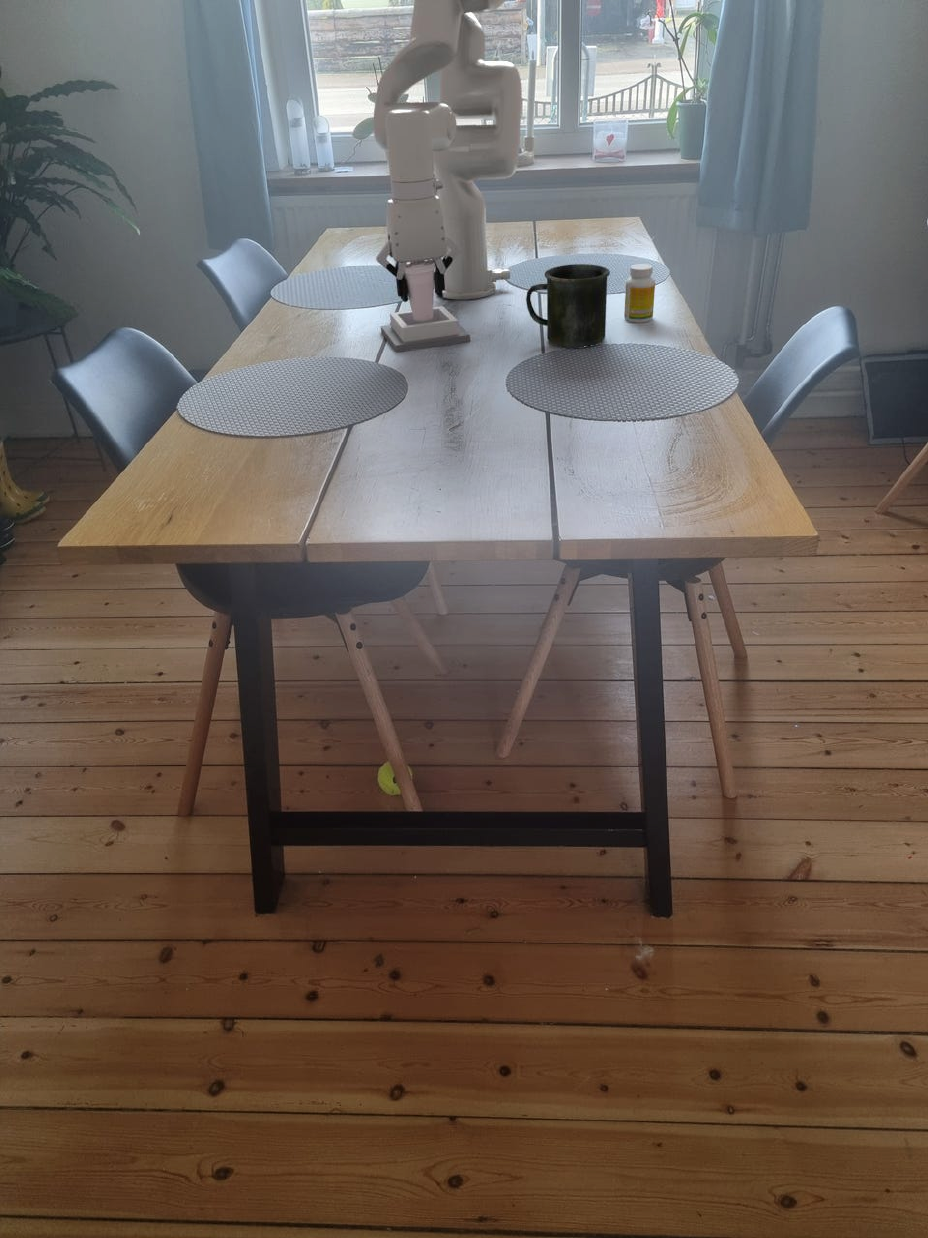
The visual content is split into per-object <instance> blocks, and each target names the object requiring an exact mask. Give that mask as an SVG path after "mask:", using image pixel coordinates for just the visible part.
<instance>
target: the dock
mask: <svg viewBox="0 0 928 1238" xmlns="http://www.w3.org/2000/svg"><path fill="white" fill-rule="evenodd" d="M389 319H390V324H386V325H381V326H380V332H381V334H382V335H383V337H384V338H385V340H387V342H388V344H390V346H391V348H392V349H393V350H394V351H395V352H396V353H401V352H408V351H414V350H415V351H416V350H419V349H420V350H421V349H428V348H435V347H441V346H448V345H455V344H461V343H467V342H471V334H470V333H469V332H468V331H467V330H466V329H465V328H464V327H462V326H461V325H460V323H459V320H458V319H457V318H456V317H455V316H454V315H453V314H451V312H450V311H448V309H446V308H445V307H444V305H441V306H435V307H434V306H433V318H432V319H430V320H426V321H416V320H414V319H413V314H412V310H411V309H410V310H405V311H399V312H397V311H396V312H390V313H389Z"/></svg>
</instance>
